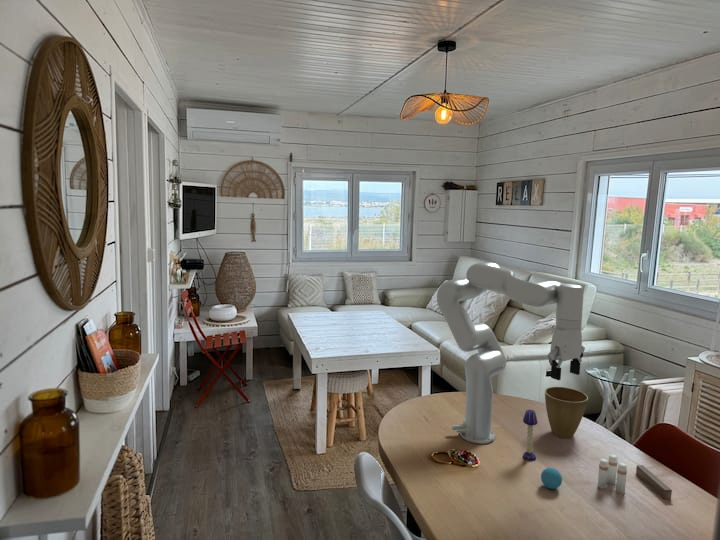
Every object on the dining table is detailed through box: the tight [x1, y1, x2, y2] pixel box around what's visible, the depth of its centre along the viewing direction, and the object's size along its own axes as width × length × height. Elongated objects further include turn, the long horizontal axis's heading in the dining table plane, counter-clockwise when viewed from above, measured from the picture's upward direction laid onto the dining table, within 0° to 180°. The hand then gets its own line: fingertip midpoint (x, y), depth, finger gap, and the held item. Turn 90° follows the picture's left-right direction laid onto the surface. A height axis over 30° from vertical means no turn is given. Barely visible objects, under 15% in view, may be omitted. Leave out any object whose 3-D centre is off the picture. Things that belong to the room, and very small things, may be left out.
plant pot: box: [544, 386, 589, 440], centre depth 186 cm, size 15×15×16 cm
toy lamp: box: [522, 409, 538, 462], centre depth 168 cm, size 5×5×17 cm
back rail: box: [635, 464, 673, 501], centre depth 153 cm, size 2×14×3 cm, turn 3°
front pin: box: [597, 458, 609, 490], centre depth 152 cm, size 2×2×8 cm
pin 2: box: [615, 462, 628, 495], centre depth 150 cm, size 2×2×8 cm
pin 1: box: [607, 454, 619, 485], centre depth 155 cm, size 2×2×8 cm
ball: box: [540, 467, 563, 490], centre depth 151 cm, size 6×6×6 cm
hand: (565, 376), depth 158 cm, fingers open, 9 cm apart
